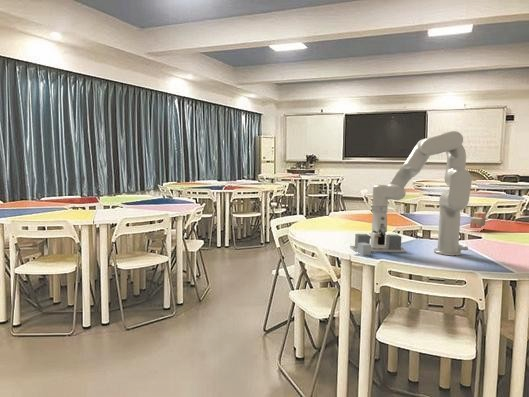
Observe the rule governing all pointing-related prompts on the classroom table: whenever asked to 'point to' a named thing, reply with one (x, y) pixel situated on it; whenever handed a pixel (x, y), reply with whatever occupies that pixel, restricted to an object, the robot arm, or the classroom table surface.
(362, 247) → the block
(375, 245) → the block
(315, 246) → the classroom table surface
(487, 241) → the classroom table surface
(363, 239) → the rail
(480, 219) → the stack of blocks
